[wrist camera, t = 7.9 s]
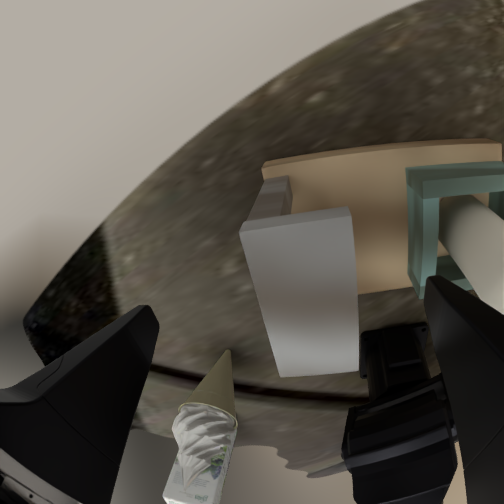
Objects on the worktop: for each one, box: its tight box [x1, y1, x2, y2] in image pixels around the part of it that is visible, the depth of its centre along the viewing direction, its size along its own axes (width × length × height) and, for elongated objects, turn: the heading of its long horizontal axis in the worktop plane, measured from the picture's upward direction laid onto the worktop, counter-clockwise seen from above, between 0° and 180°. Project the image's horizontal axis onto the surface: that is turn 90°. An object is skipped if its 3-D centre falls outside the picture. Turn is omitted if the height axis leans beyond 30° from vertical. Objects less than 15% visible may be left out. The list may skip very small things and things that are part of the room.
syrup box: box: [163, 428, 237, 504], centre depth 30 cm, size 6×6×14 cm
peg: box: [438, 194, 504, 315], centre depth 13 cm, size 4×4×8 cm
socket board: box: [239, 138, 504, 377], centre depth 15 cm, size 10×16×10 cm, turn 104°
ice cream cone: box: [172, 349, 238, 491], centre depth 22 cm, size 5×5×15 cm
